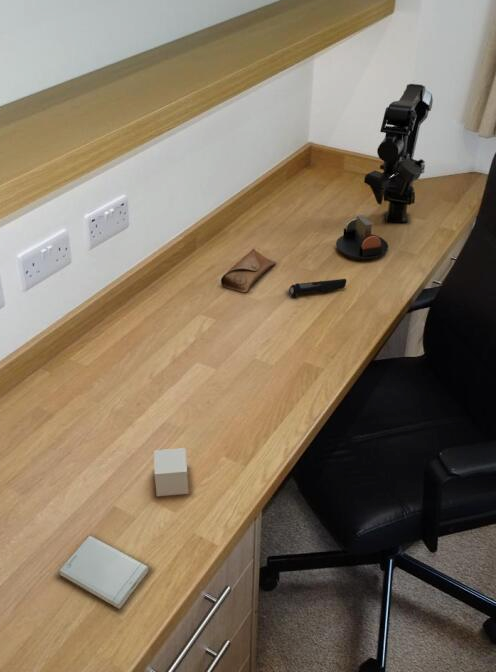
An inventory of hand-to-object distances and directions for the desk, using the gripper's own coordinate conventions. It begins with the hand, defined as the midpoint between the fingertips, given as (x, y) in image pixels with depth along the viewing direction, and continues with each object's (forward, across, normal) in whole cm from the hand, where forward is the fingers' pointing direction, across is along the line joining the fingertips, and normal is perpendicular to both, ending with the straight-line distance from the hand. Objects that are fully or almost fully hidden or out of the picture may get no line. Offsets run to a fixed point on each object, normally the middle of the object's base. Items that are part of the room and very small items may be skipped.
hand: (389, 199), depth 205 cm
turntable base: (+13, -11, 0) cm, 17 cm away
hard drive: (+13, -127, -41) cm, 134 cm away
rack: (+13, -11, 0) cm, 17 cm away
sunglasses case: (+13, -44, +12) cm, 48 cm away
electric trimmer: (+13, -37, -6) cm, 39 cm away
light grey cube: (+13, -106, -33) cm, 112 cm away
